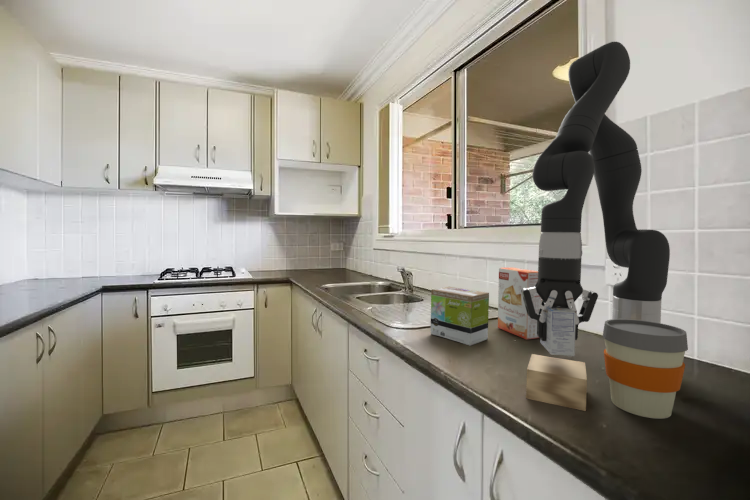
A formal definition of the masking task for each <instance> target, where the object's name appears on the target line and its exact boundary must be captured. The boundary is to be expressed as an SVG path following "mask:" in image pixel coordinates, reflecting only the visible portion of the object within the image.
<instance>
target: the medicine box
mask: <svg viewBox="0 0 750 500" xmlns="http://www.w3.org/2000/svg"><path fill="white" fill-rule="evenodd" d="M575 320H576V313H575V311H573V310H571V309H568V308H564V307H560V306H558V307H552V308H551V309H549V310H548V312H547V319H546V321H545V322H546V323H547V335H546V341H542V340H541V339H540V338H539V339H540V340H539V342H540V344H541V345H542V346H543V347H544V349H545V350H547V352H548V353H549V354H550V355H551V356H557V357H558V356H561V357H572V358H573V357H576V356H575V355H576V340H575Z"/></svg>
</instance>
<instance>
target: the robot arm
mask: <svg viewBox="0 0 750 500" xmlns="http://www.w3.org/2000/svg"><path fill="white" fill-rule="evenodd" d="M630 69H631V58H630V55H629V53H628V50H627V48H626V47H625V46H624V44H623V43H621V42H619V41H610V42H608V43H605V44H603V45H601V46H599V47H598V48H595V49H593V50H592V51H589V52H588V53H586V54H584V55H583V56H581V57H579V58H577V59H575V60H574V61H572V62H571V64H570V65H569V67H568V71H567V73H568V83H569V87H570V90H571V94H572V96H573V100H574V102H575V103H574V104H573V106H571V108H570V109H569V110H568V112H567V113H566V114H565V115H564V118H563V120H562V121H561V123H560V126H559V128H558V130H557V133H556V135H555V137H554V139H553V140H552V141H551V142H549V144H548V146H546V148H545V149H544V150H543V151H542V153H541V154H540V155H539V156H538V158H537V159H536V162H535V163H534V165H533V169H532V180H533V183H534V185H535V186H536V187H537V189H539V190H541V191H545V192H553V191H563V190H566V192H565V195H564V196H563V197H562V198H561V199H558V200H556V201H555V200H554V201H552V202H548V203H546V204H544V205H543V206H542V207H541V213H540V214H541V216H540V218H541V219H540V236H539V242H538V262H537V263H538V264H537V266H538V268H537V271H538V281H537V283H536V285H535V287H532V288H528V289H526V288H523V289H522V290H521V293H522V296H523V300H524V304H525V307H526V311H527V314H528V316H530V318H531V319H535V320H537V335H538V337H539V338H538V339H541V340H542V341H546V335H547V323H546V322H545V321H546V319H547V312H548V310H549V309H551V308H552V307H558V306H560V307H564V308H568V309H571V310H573V311H575V313H576V320H575V341H577V340H578V338H579V336H578V335H579V324H581V323H588V322H590V318H591V317H592V315H593V312H594V308H595V305H596V303H597V300H598V298H599V294H598V292H595V291H592V290H586V289H584V288H583V286H582V284H581V279H582V278H581V277H582V256H583V241H582V218H583V217H582V216H583V215H582V214H583V209H584V205H585V201H586V197H587V195H588V191H589V189H590V186H591V184H592V182H593V181H592V180H593V177H594V181H595V185H596V190H597V193H598V194H597V195H598V198H599V199H598V200H599V203H600V208H601V214H602V220H603V230H604V239H605V240H604V241H605V242H604V243H605V246H606V252H607V253H606V254H607V255H608V257H609V259H610V261H611V262H612V263H613V264H614V265H616V266H618V267H622V268H628V270H627V276H626V278H625V279H624V280H623V281H620V282H617V283H614V285H613V288H612V308H611V309H612V311H611V319H631V320H642V321H650V322H656V323H661V320H662V300H663V299H662V297H663V292H664V291H665V289H666V286H667V283H668V276H669V275H668V274H669V267H670V257H671V256H670V255H671V253H670V252H671V247H670V242H669V240H668V238H667V237H666V235H665V234H664V233H662V232H661V231H659V230H657V229H638V228H637V225H636V222H635V221H636V220H635V216H634V201H635V197H636V194H637V191H638V188H639V185H640V182H641V179H642V178H641V177H642V173H643V172H642V171H643V170H642V163H641V158H640V154H639V150H638V144H637V142H636V140H635V139H634V138H633V137H632V135H630V134H629V133H628V132H627V131H626V130H624V129H623V128H622V127H621V126H619V125H618V124H617V123H616V122H614V121H613V120H612V119H610V118H609V117H608V115H607V114H606V112H607V111H608V109H609V108H610V106H611V104H612V102H613V101H614V100H615V98H616V96H617V95H618V93H619V91H620V90H621V89H622V87H623V85H624V84H625V82H626V80H627V79H628V76H629V74H630ZM536 292H537V293H538V295H539V296H540V297H541V299H542V301H541V304H540V307H539V311H538V313H536V312H535V309H534V306H533V302H532V299H533V298H534V294H535V293H536ZM580 296H581V299H582V301H583V302H582V305H581V308H580V309H579V313H577V312H578V310H577V307H576V304H575V302H576V301H577V300H578V299H579V297H580ZM661 324H662V323H661Z"/></svg>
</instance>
